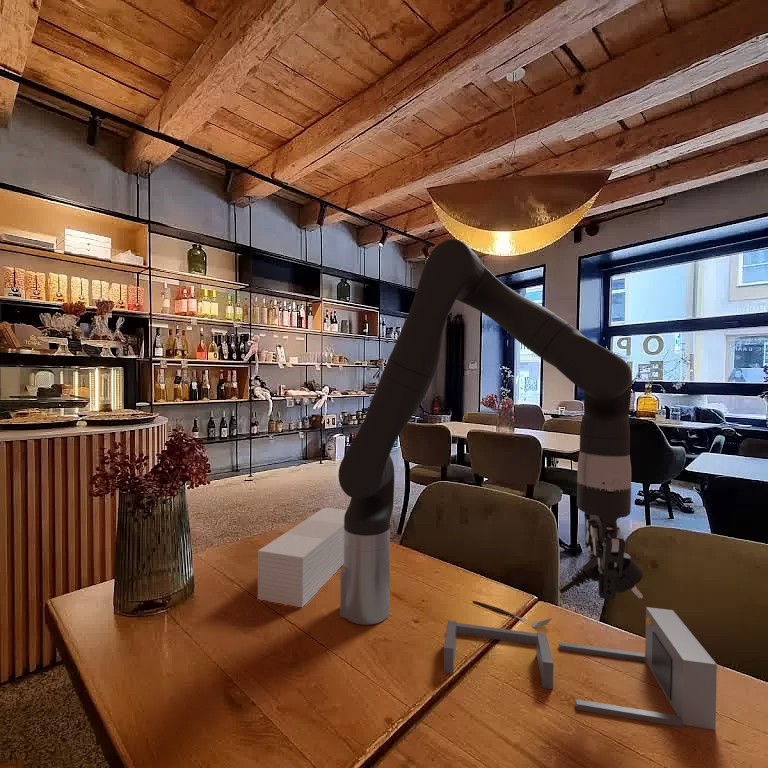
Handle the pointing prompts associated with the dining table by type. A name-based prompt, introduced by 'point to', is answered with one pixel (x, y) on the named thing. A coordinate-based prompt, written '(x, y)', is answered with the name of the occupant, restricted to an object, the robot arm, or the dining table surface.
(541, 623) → the fork
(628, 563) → the power plug
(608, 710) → the socket block
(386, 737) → the dining table surface
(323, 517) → the stack of papers
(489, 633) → the plug holster
